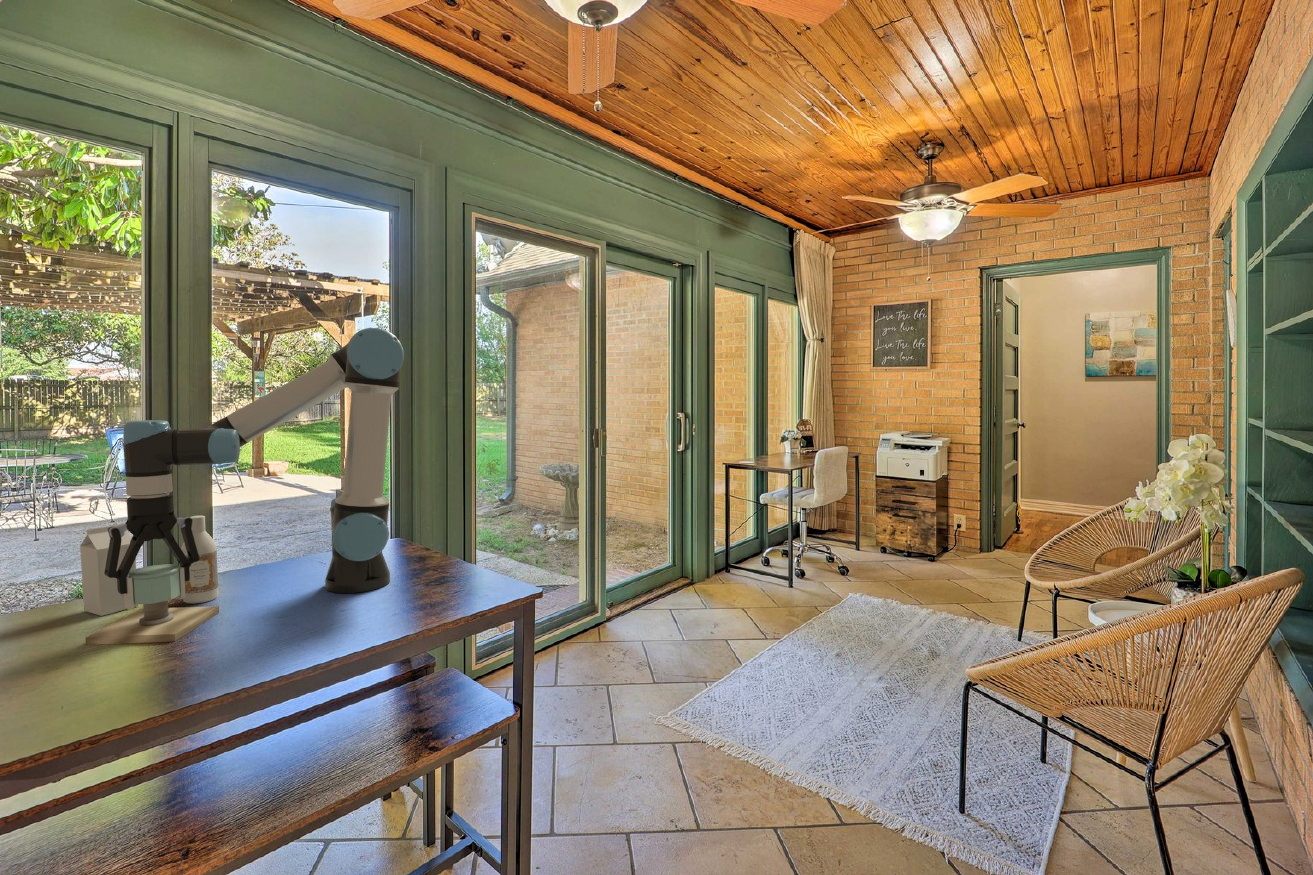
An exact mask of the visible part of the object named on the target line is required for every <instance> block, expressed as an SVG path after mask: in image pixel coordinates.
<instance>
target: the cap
mask: <svg viewBox="0 0 1313 875" xmlns="http://www.w3.org/2000/svg"><path fill="white" fill-rule="evenodd" d="M179 566H180V565H177V564H172V563H171V564H167V563H165V564H155V565H148V566H142V567H139V568H136V569H135V570H132V571H130V572H129V574H128V575H129V577H132V583H133V601H134V604H138V605H143V604H154V603H158V602H163V601H167V600H168V601H171V600H173V599H175V598H178V596H179V595H180V585H179Z"/></svg>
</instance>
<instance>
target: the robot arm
mask: <svg viewBox="0 0 1313 875" xmlns="http://www.w3.org/2000/svg"><path fill="white" fill-rule="evenodd" d="M404 360H405V351H404V348H403V346H402V343H401V342H400V340H399V339H398V338H397V336H396V335H394V334H393V333H392V332H390V331H388V330H386V329H382V328H379V327H367V328H363V329H360V330H359V331H357V332H356V333H354V334H353V335H352V336H351V337H350V339H349V342H347V343H346V344H345V345H344V346H342V347H341V348H340V349H338V350H336V351H334V352H333V353H331V354H329V356H328V359H327V361H326V362H324V363H321V364H320V365H318V366H316V367H315V368H313V369H311V370H309V371H307V372H305V373H303V374H301V375H299V376H298V377H296V378H294V379H292V380H290V381H289V382H287V383H285V384H283V385H281V386H280V387H278V388H276V389H273V390H271V391H270V392H269V393H267V394H265V395H263V396H261V397H259V398H257V399H255V400H254V401H252V402H250V403H249V404H246V405H245V406H243V407H240V408H239V409H237V410H235V411H233V412H232V413H229V414H228V415H227V416H225V417H223V418H220V419H219V420H216V421H214V422H213V423H211V424H209V425H207V426H205V427H204V428H196V429H193V428H192V429H172V428H171V426H170V423H169V421H167V420H164V419H163V420H162V419H160V420H157V419H155V420H154V419H150V420H149V419H148V420H147V419H146V420H145V419H144V420H130V421H127V422H126V423H124V426H123V436H122V437H123V442H122V450H123V460H124V473H125V495H127V496H129V497H127V499H126V513H127V514H126V515H127V516H126V517H127V520H126V521H125V523H124V524H125V525H122V526H118V527H109V528H108V533H109V536H110V543H109V548H108V554H107V560H106V566H105V572H104V574H105V575H106V576H108V577H109V578H117V588H118V592H119V593H120V594H124V600H125V608H127V609H126V610H128V611H131V610H134V609H135V607H134V601H133V583H132V577H129V576H128V574H129V571H130V569H131V567H132V565H133V563H134V561H135V559H137V556H138V554H139V553H140V550H141V548H142V546H144V543H145V542H149V541H152V540H163V542H164V543H165V544H166V546H167V547H168V549H169V550H170V552H171V553H172V555H173V556H174V558H175V559H176V561H177V562H178V564H179V565H178V566H179V585H180V595H179V596H177V598H180V599H183V598H186V596H185V581H189V579H190V571H189V567H190V566H191V564H192V563H194V562H198V561H199V555H198V551H197V547H196V544H195V540H194V536H193V533H192V529H191V528H192V519H191V518H190V517H187V516H183V517H177V516H176V515H175V509H174V508H175V506H174V495H172V494H171V493H173V491H174V486H173V485H174V484H173V472H172V470H173V469H172V468H173V467H172V466H185V465H187V466H190V465H191V466H192V465H193V466H194V465H219V466H220V465H224V464H225V465H226V464H234V463H237V462H238V461H239V459H240V455H241V454H240V453H241V450H240V449H241V448H242V447H243V446H245V445H246V444H248V443H250V442H253V441H254V440H255V439H257V438H259V437H261V436H262V435H264V434H266V433H268V432H270V431H272V430H273V429H275V428H277V427H279V426H281V425H282V424H284V423H286V422H288V421H289V420H291V419H293V418H295V417H296V416H298V415H299V414H302V413H303V412H306V411H307V410H309V409H312V408H313V407H315V406H316V405H318V404H320V403H321V402H323V401H326V400H327V399H329V398H331V397H332V396H334V395H335V394H337V393H339V392H342V390H344V389H346V388H348V390H350V404H349V417H348V430H347V441H346V442H347V443H346V453H345V465H344V466H345V467H344V476H343V477H344V478H343V489H342V490H343V491H342V494H341V495H340V496H338V497H334V498H333V499H332V500H331V502H330V508H329V511H330V522H331V523H330V524H331V554H332V555H331V561H330V564H329V567H328V569H327V572H326V576H325V579H324V583H325V585H324V586H325V590H326V591H328V592H331V593H336V594H354V593H355V594H357V593H362V592H363V593H364V592H370V591H373V590H377V589H380V588H383V587H386V586H387V585H388V584H389V583H390V582H391V572H390V569H389V566H388V563H387V562H386V558H385V556H384V554H383V550H384V549H385V547H386V545H387V543H388V542H389V538H390V531H389V527H388V520H389V508H390V501H389V500H388V499H387V498H386V497H385V496H384V486H385V485H384V484H385V474H386V473H385V472H386V471H385V470H386V463H387V462H386V460H387V459H386V458H387V451H388V438H389V428H390V426H389V425H390V413H391V403H392V395H393V394H394V393H396V392H397V391H399V389H400V388H399V387H400V379H401V368H402V366H403V364H404ZM176 524H177V526H178V528H180V532H181V535H182V539H183V543H185V547H186V550H187V554H188V557H186V556H185V554H184V553H183V551H182V550H181V548H182V547H180V545H179V544H178V542H177V541H176V539H175V537H174V535H173V533H172V532H171V531H172V530H173V528H174V527H175V525H176ZM126 530H127V531H128V532H129V534H132V536H131V537H132V539H131V541H130V545H129V547H128V549H127V551H126V554H125V556H124V558H123V560H122V562H121V564H120V566H119V568H118V570H117V565H118V559H119V553H120V547H121V537H123V536H124V533H125V531H126Z"/></svg>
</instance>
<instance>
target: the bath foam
mask: <svg viewBox="0 0 1313 875" xmlns="http://www.w3.org/2000/svg"><path fill="white" fill-rule="evenodd" d="M189 518H191V519H192V528H191V529H192V533H193V536H194V540H195V544H196V547H197V551H198V555H199V561H198V562H194V563H192V564H191V566H190V567H189V571H190V579H189V581H185V596H186V598H182V600H183V602H184V603H186V604H193V605H194V604H201V603H208V602H210V601H213V600H216V599H217V598H218V597H219V591H220V590H219V568H218V566H219V565H218V550H217V544H216V542H215V540H214V539H213V537H212V536H211V535H210V534H209V533H208V532H207V530H206V516H205V515H193V516H190V517H189ZM180 548H181V550H182V551H183V553H184V554H185V556H186V557H188V554H187V550H186V547H185V543H184V542H183V543H182V545H181V547H180Z"/></svg>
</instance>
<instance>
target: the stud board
mask: <svg viewBox="0 0 1313 875" xmlns="http://www.w3.org/2000/svg"><path fill="white" fill-rule="evenodd" d="M168 601H169V600H167V601H163V602H158V603H154V604H142V605H143V608H139V609H137V610H135V611H134V612H131V613H130V614H127V615H126V616H124V617H122V618H120V619H118V620H116V621H114V622H113V623H110V624H109V625H106V626H105V627H104V626H103V628H101V629H99V630H97V631H95V632H92V633H91V634H89V635H86V636H85V637H84V639H85V645H86V646H89V645H90V646H91V645H92V646H93V645H95V646H96V645H115V644H136V643H137V644H138V643H139V644H140V643H144V644H145V643H163V642H165V643H167V642H177V641H178V640H179V639H181V638H182V637H184V636H186V635H188V634H189V633H190V632H192V631H194V630H195V629H197V628H198V627H199V626H201V625H203V624H205V623H206V622H207V621H209V620H210V619H212V618H213V617H215V616H216V615H218V614H220V606H219V605H218V606H217V605H216V606H215V605H214V606H213V605H212V606H211V605H210V606H186V607H183V606H182V607H169V602H168Z"/></svg>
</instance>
